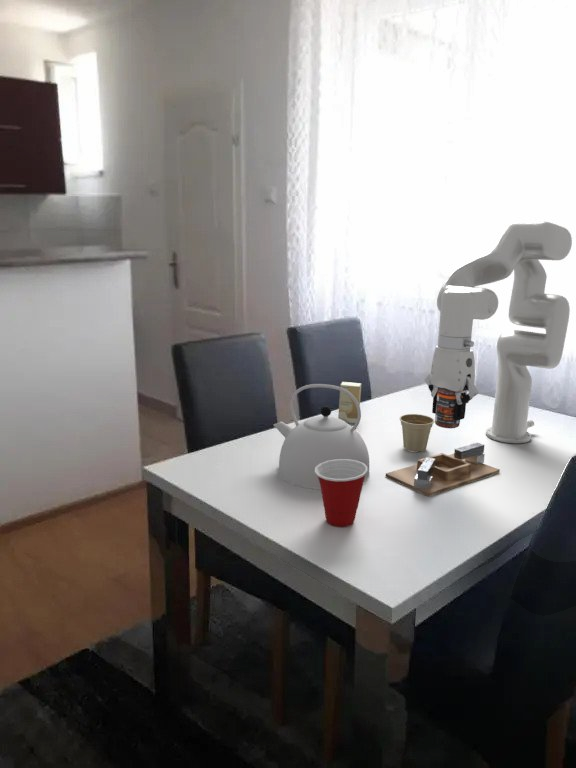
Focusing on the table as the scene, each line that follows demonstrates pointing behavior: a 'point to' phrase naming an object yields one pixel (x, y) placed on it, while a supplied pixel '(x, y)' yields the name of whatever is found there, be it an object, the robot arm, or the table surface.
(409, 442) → the flower pot
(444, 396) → the supplement bottle
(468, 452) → the pair of grey blocks
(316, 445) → the kettle
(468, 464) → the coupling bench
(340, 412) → the skincare box
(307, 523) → the table surface
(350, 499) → the plastic cup
